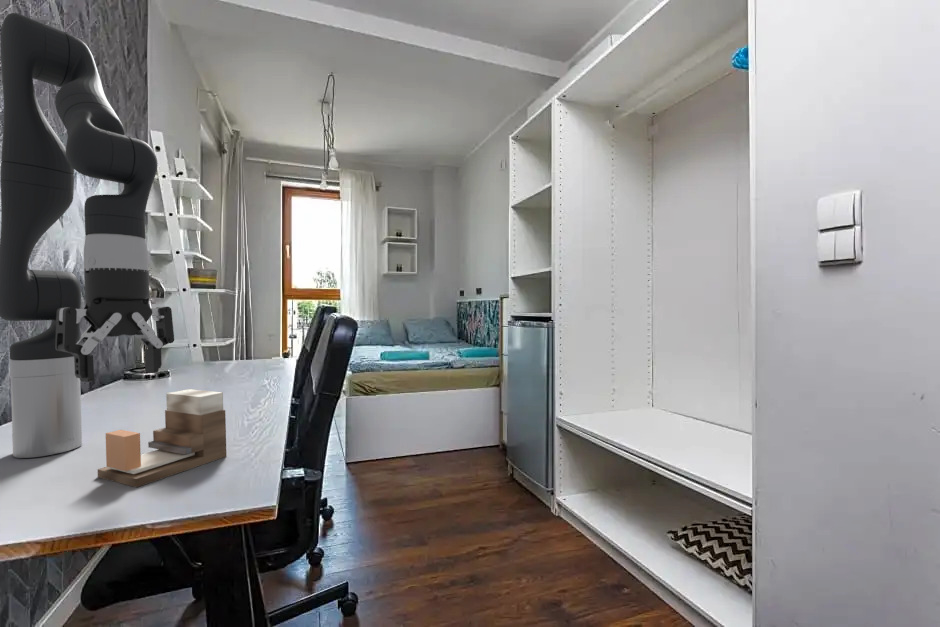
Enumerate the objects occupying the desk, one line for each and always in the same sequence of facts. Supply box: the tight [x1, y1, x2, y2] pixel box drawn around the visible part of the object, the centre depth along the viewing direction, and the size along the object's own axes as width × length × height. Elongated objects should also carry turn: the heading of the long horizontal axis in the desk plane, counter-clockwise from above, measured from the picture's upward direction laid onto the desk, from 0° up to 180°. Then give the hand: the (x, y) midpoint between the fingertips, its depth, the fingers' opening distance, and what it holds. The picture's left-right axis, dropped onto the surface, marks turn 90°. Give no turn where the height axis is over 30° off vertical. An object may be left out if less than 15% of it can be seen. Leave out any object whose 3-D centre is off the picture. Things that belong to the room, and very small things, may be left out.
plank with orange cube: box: [105, 429, 195, 474], centre depth 69 cm, size 7×10×6 cm
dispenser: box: [97, 388, 228, 488], centre depth 71 cm, size 10×14×11 cm
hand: (121, 376), depth 66 cm, fingers open, 8 cm apart
